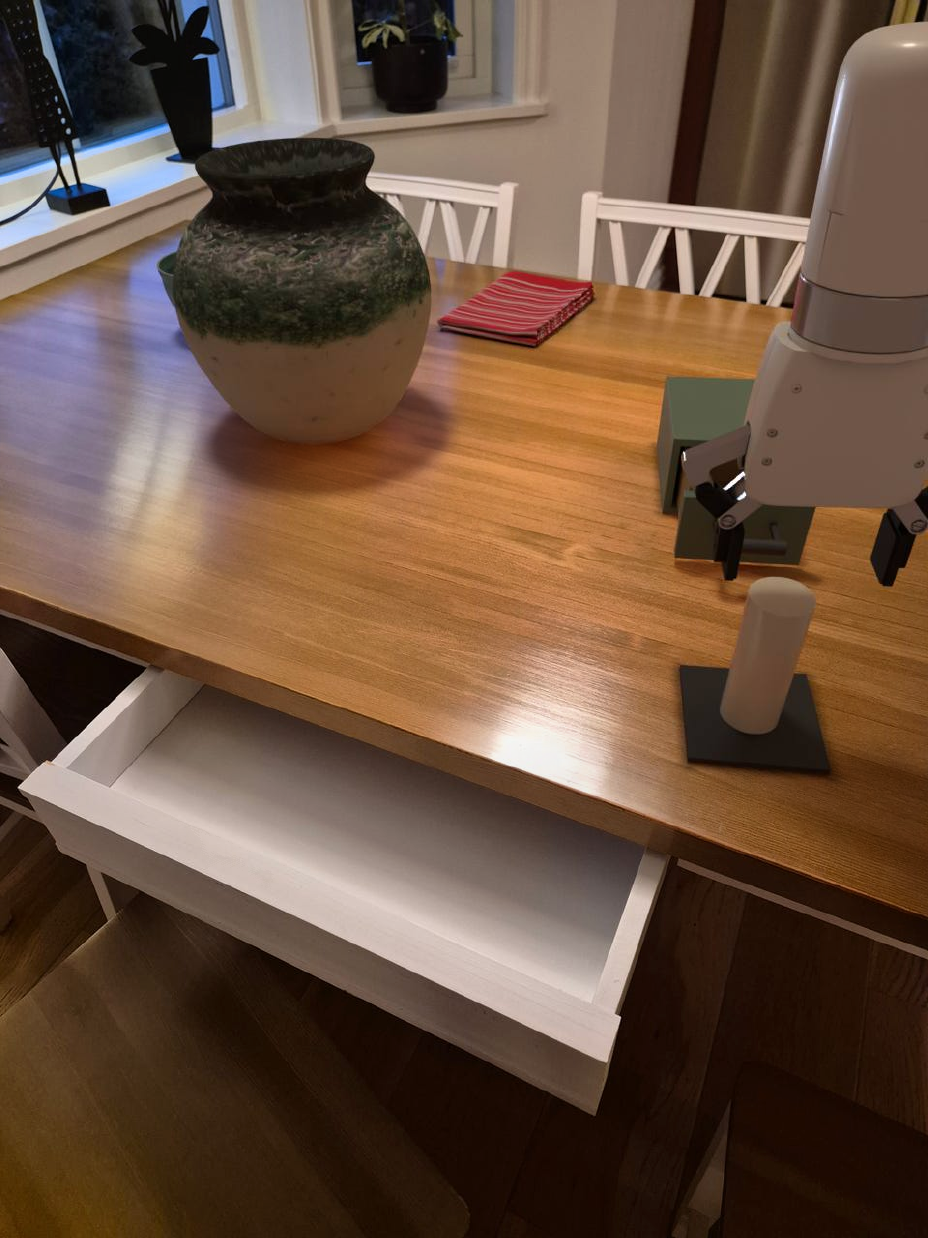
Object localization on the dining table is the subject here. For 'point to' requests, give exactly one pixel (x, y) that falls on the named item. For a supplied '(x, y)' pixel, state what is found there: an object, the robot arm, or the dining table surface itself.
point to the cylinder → (766, 653)
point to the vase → (302, 289)
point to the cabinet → (696, 421)
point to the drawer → (766, 529)
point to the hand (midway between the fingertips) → (803, 571)
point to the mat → (721, 744)
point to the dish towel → (519, 308)
